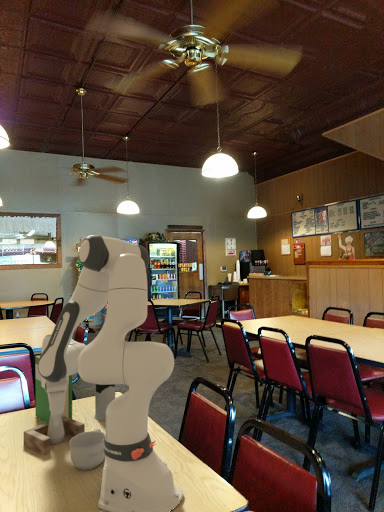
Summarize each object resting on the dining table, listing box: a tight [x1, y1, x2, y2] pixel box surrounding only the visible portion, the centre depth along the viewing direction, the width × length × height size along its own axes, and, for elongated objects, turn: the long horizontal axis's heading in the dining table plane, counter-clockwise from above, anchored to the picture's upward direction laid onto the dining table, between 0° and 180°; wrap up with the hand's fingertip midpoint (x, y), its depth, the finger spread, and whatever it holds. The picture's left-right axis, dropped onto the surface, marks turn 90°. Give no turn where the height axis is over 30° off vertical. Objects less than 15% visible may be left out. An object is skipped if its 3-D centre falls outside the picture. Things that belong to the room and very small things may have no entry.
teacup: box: [68, 428, 106, 471], centre depth 114 cm, size 14×11×8 cm
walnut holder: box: [23, 416, 86, 456], centre depth 129 cm, size 12×16×4 cm
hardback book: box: [34, 354, 73, 424], centre depth 148 cm, size 18×7×24 cm, turn 43°
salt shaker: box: [47, 406, 66, 445], centre depth 128 cm, size 6×6×13 cm
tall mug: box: [92, 383, 116, 422], centre depth 152 cm, size 9×14×15 cm, turn 42°
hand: (55, 420), depth 128 cm, fingers open, 8 cm apart
